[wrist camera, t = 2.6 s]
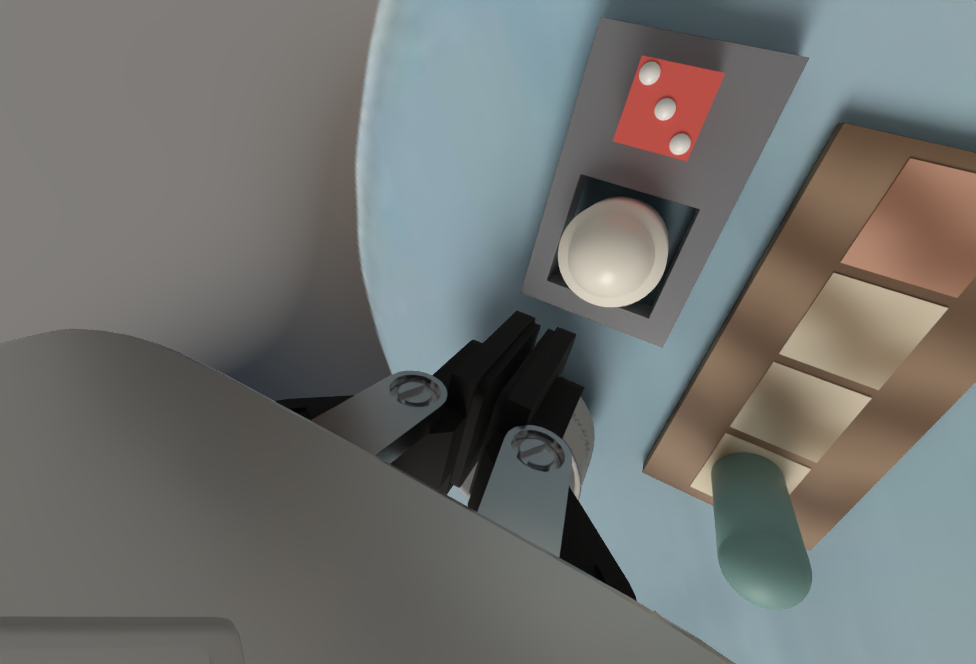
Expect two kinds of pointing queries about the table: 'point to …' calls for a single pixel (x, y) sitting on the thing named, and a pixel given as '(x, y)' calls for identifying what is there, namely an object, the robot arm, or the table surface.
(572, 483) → the teacup
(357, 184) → the table surface
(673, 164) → the base
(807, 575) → the green capsule
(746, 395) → the track board
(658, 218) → the dome
